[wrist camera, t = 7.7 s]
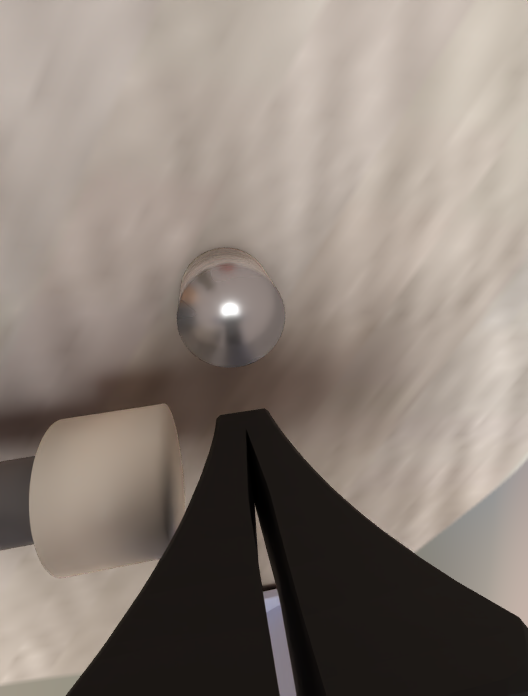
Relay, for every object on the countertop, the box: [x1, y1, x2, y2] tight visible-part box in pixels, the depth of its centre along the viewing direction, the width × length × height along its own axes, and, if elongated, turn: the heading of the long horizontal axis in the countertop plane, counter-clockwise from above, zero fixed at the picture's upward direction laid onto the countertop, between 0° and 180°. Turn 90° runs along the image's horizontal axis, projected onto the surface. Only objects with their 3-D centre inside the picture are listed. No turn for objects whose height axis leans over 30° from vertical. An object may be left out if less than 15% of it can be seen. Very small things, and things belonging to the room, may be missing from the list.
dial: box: [177, 248, 285, 367], centre depth 10 cm, size 3×3×2 cm
